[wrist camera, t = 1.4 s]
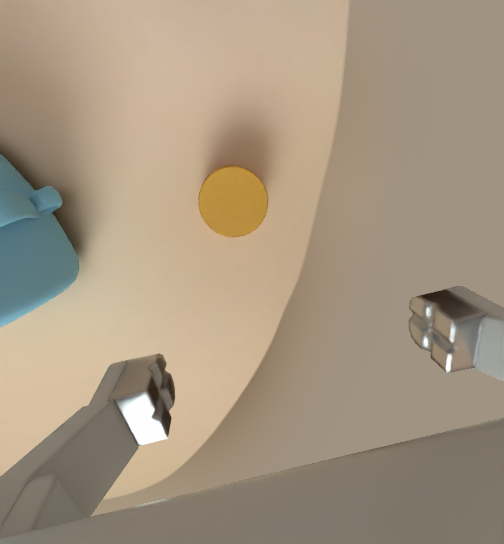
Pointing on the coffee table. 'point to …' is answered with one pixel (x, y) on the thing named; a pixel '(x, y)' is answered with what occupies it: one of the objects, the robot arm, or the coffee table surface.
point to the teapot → (30, 246)
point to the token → (233, 201)
